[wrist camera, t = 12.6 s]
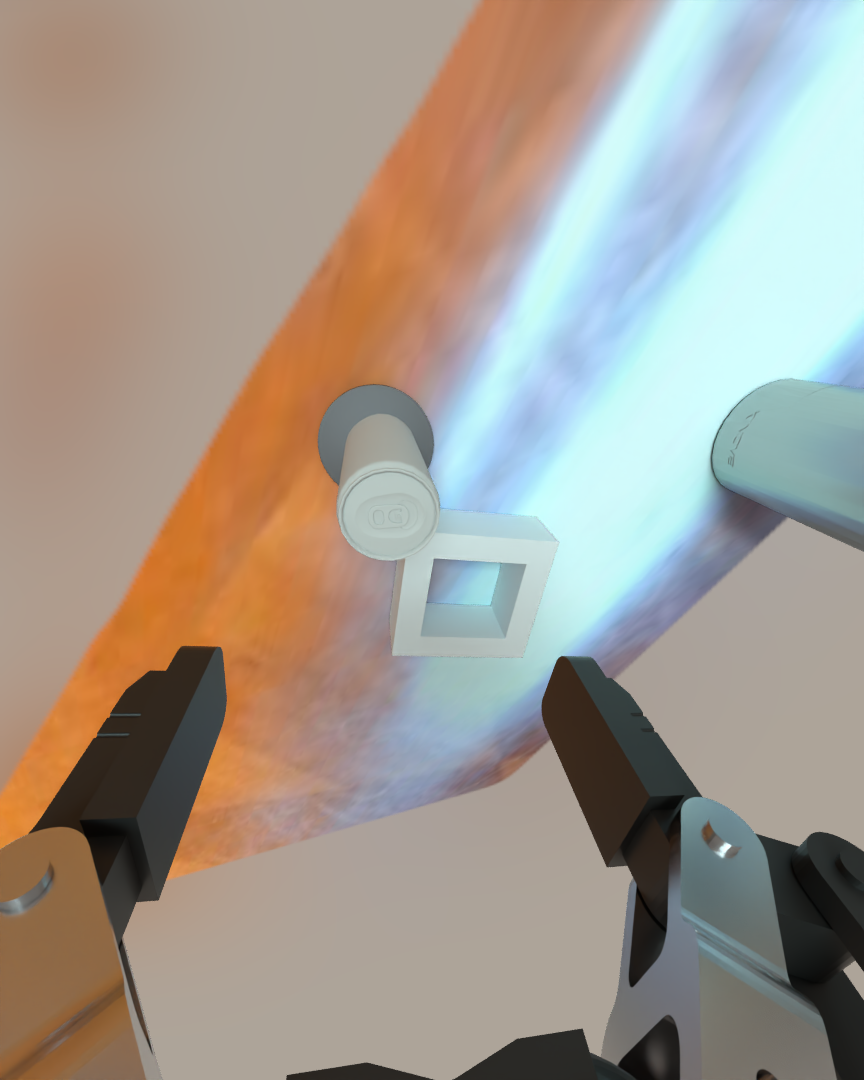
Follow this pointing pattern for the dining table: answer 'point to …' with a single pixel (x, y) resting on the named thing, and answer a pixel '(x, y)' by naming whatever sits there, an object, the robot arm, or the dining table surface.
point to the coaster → (362, 405)
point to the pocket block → (473, 626)
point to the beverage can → (386, 491)
